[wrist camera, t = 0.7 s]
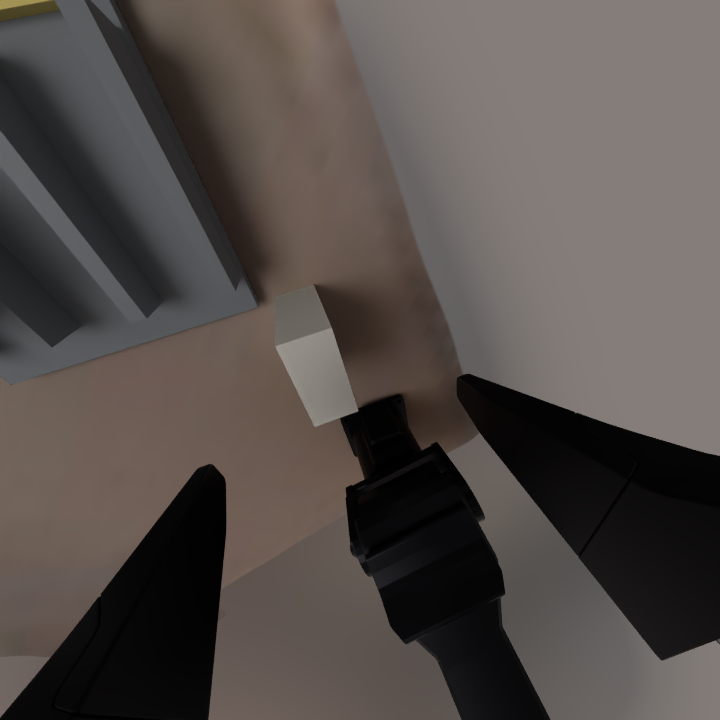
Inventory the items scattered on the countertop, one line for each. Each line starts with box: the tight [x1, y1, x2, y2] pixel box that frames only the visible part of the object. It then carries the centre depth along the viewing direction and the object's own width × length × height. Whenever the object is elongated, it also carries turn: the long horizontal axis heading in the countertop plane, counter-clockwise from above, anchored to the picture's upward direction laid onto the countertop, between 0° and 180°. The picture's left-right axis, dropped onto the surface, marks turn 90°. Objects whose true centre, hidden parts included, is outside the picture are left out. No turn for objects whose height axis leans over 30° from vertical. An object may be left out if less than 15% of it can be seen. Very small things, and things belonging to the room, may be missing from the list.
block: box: [275, 284, 358, 427], centre depth 17 cm, size 6×3×7 cm, turn 12°
